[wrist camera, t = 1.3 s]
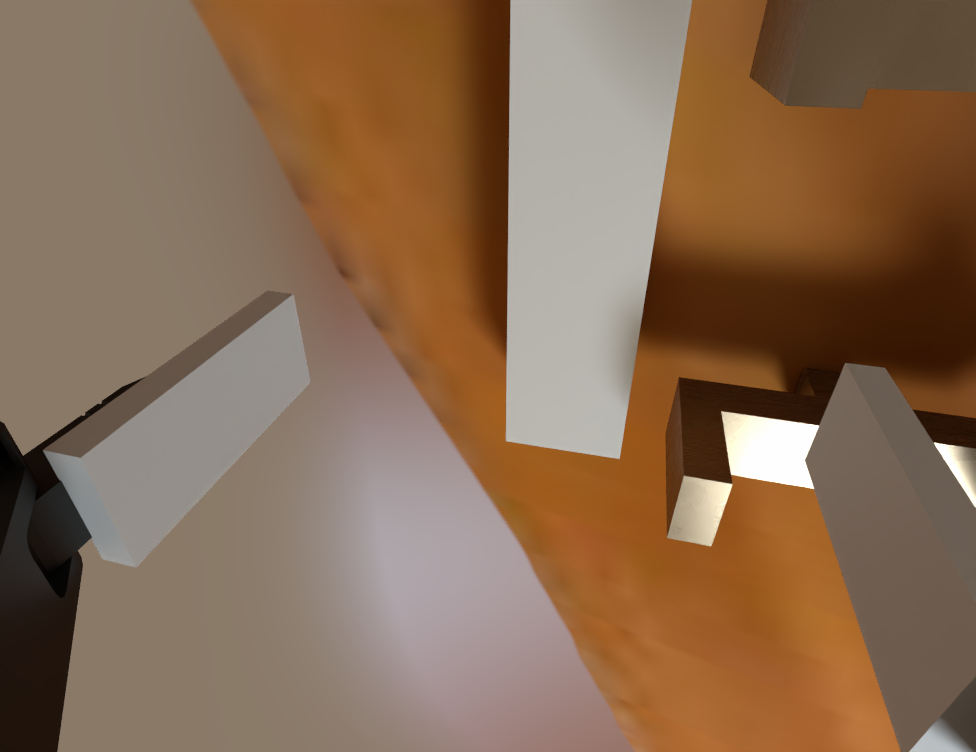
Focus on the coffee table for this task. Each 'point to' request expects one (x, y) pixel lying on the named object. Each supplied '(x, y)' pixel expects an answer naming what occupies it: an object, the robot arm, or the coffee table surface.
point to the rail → (584, 208)
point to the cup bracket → (796, 416)
